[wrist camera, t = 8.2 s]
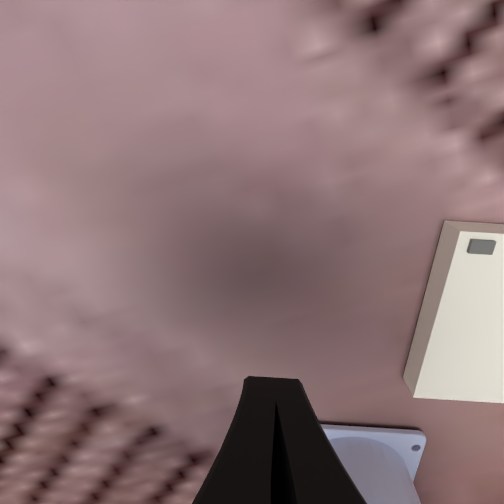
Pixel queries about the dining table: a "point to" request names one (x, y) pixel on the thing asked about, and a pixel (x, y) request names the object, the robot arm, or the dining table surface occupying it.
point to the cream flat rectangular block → (462, 318)
